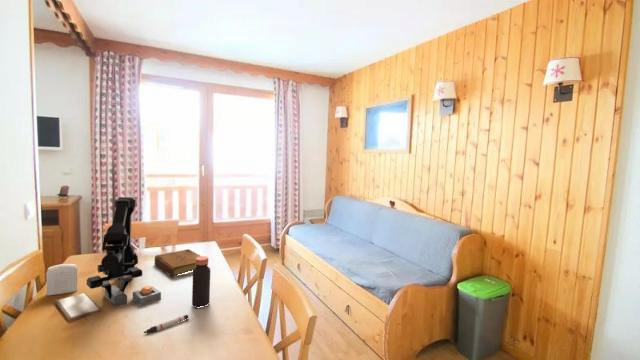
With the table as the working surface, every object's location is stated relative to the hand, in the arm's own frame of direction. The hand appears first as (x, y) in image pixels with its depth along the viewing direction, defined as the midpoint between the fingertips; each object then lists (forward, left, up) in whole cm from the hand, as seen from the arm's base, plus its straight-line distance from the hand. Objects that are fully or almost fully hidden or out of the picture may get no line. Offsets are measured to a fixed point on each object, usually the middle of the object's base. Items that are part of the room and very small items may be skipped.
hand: (115, 296), depth 129 cm
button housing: (-9, +8, -1) cm, 12 cm away
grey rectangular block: (0, 0, -1) cm, 1 cm away
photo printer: (+13, -22, -2) cm, 25 cm away
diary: (-37, -17, -2) cm, 41 cm away
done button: (-9, +8, +1) cm, 12 cm away
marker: (-5, +34, -2) cm, 34 cm away
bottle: (-22, +28, -1) cm, 36 cm away
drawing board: (+12, -3, -1) cm, 12 cm away
